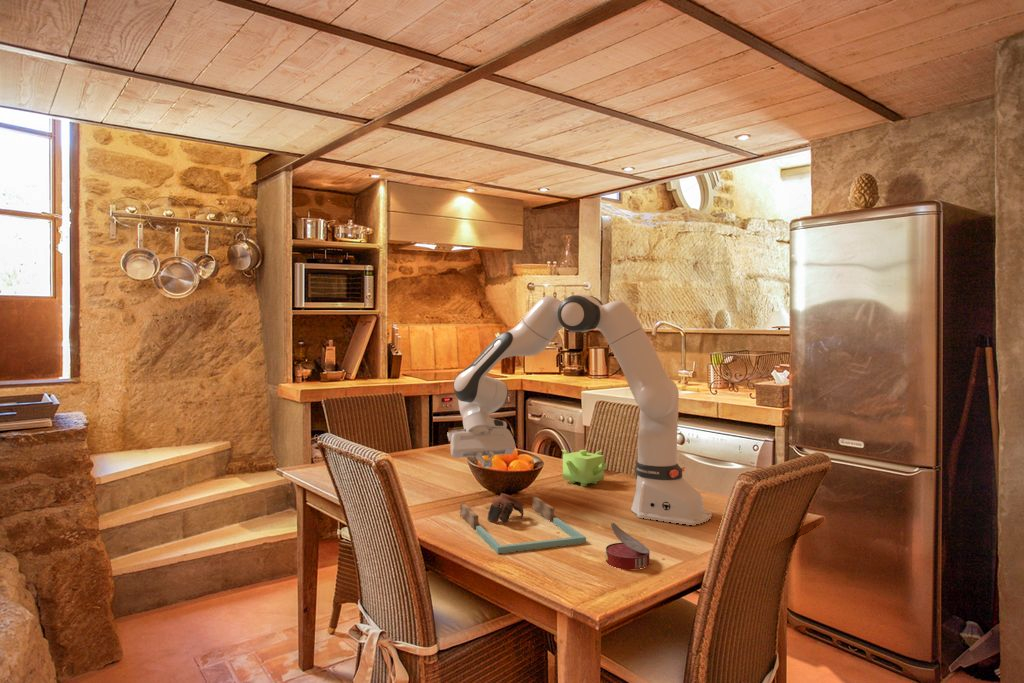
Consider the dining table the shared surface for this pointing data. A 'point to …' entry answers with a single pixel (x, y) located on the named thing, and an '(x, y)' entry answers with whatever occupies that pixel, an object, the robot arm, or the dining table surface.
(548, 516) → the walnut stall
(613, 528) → the canned food
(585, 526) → the dining table surface
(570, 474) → the green knobbed block
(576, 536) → the teal frame
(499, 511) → the dark brown curved piece
